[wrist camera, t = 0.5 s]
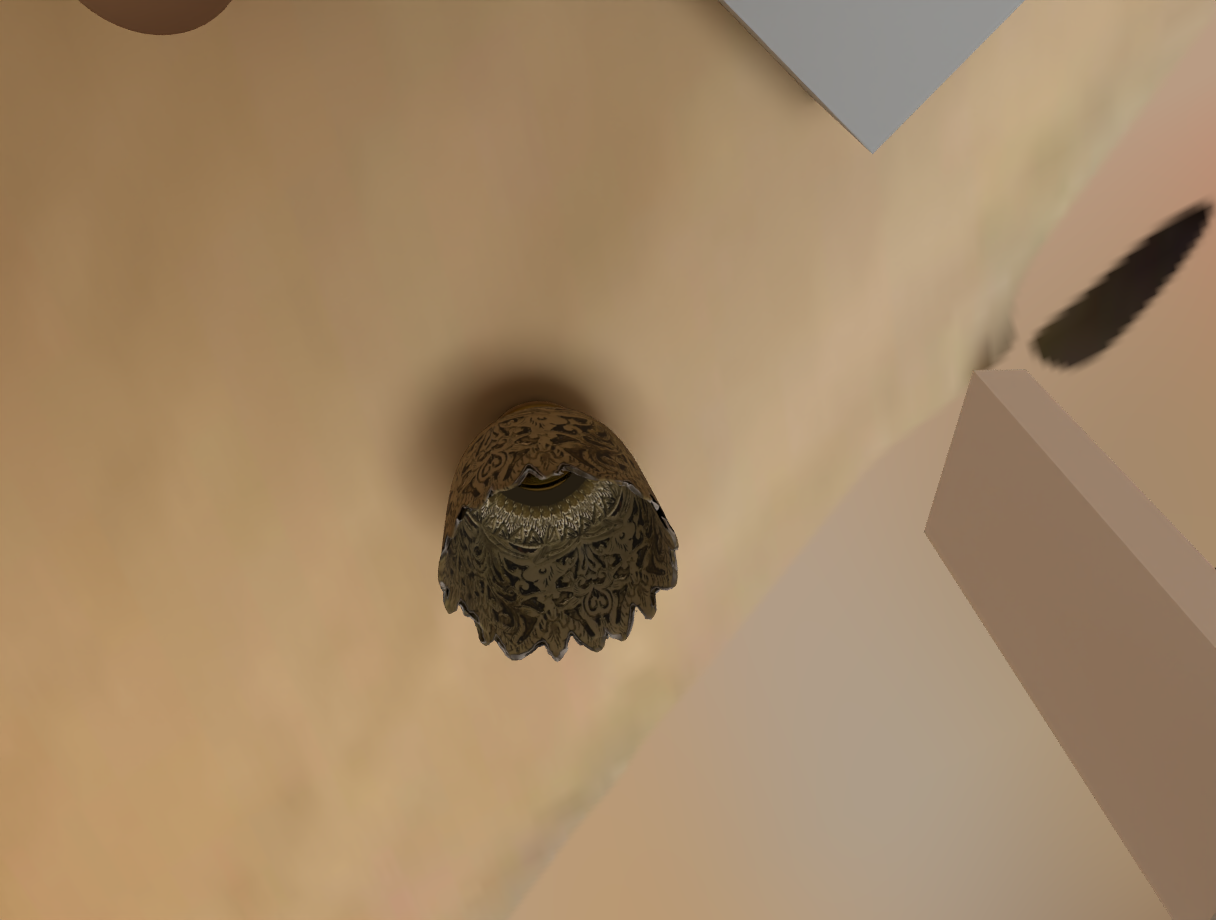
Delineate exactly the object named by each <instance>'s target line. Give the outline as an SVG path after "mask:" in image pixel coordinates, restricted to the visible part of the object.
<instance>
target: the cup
mask: <svg viewBox="0 0 1216 920" xmlns="http://www.w3.org/2000/svg"><path fill="white" fill-rule="evenodd" d="M678 547H679V545H678V540H677V537H676V534H675V532H674V530H673V529H672V527H671V526H670V524H669V522H668V520H667V519H666V516H665V514H664V512H663V510H662V508H661V506H660V504H659V503H658V501H657V499H656V497H655V495H654V493H653V491H652V489H651V488H650V486H649V484H648V482H647V480H646V478H645V477H644V475H643V473H642V471H641V469H640V468H639V466H638V464H637V462H636V461H635V459H634V458H633V456H632V455H631V453H630V452H629V450H628V449H627V448H626V446H625V445H624V444H623V442H622V441H621V440H620V439H619V438H618V437H617V436H616V435H615V434H614V433H613V432H612V431H611V430H610V429H609V428H608V427H606V426H605V425H604V424H602V423H601V422H599V421H597V420H596V419H594V418H592V417H590V416H588V415H586V414H584V413H581V412H579V411H576V410H572V409H568V408H564V407H562V406H560V405H558V404H555V403H551V402H546V401H531V402H526V403H522V404H519V405H517V406H515V407H513V408H511V409H510V410H508V411H507V412H505V413H504V414H503V415H502V416H501V417H500V418H499V419H498V420H497V421H495V422H494V423H492V424H491V425H489V426H488V427H487V428H485V429H484V430H483V431H482V432H481V433H480V434H479V435H478V436H477V437H476V438H475V440H474V441H473V442H472V443H471V444H470V446H469V447H468V448H467V450H466V451H465V453H464V454H463V456H462V459H461V461H460V463H459V465H458V467H457V470H456V473H455V475H454V478H453V482H452V486H451V490H450V495H449V501H448V506H447V513H446V520H445V527H444V535H443V544H442V553H441V557H440V561H439V568H438V580H439V584H440V586H441V589H442V591H443V592H444V593H443V602H444V605H445V608H446V610H447V612H448V613H449V614H451V613H453V612H455V611H457V609H458V605H459V606H460V607H461V609H462V611H463V614H464V615H465V616H467V617H471V619H473V620H474V622H475V626H476V627H477V631H478V634H479V639H480V641H481V643H482V644H483V645H485V646H487V645H489V644H490V643H491V642H493V641H494V640H495V641H496V642H497V644H498V645H499V647H500V648H501V649H502V651H503V652H504V653H505V655H506V656H507V657H508V658H510V659H511V660H522V659H523V658H525V657H526V656H528V655H529V654H531V653H533V651H535V650H536V649H537V648H538V647H541V646H545V647H546V649H547V652H548V654H549V655H551V656H552V658H553V659H554V660H555V661H557V662H558V661H560V660H561V659H562V658H563V656H564V654H565V653H566V652H567V649H568V648H567V646H568V642H569V640H570V637H571V636H573V638H574V639H575V640H576V642H577V643H578V644H579V645H584V646H585V647H587V648H588V649H590V650H591V651H594V652H599V651H601V650H602V649H603V647H604V645H605V640H606V639H608V638H609V637H611V638H614V639H617V640H620V641H624V640H626V639H627V637H628V636H629V634H630V632H631V629H632V625H633V622H634V612H635V607H638V608H639V610H640V611H641V613H642V614H643V615H644V616H645V619H650V620H651V619H652V618H653V617H654V615H655V613H656V610H657V609H656V596H655V595H656V593H657V592H658V591H660V590H659V589H661V590H669V589H672V588H673V587H675V586H676V584H677V576H678V575H677V560H676V555H675V550H678ZM636 612H637V611H636ZM608 634H609V635H610V636H608Z"/></svg>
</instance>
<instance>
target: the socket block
mask: <svg viewBox="0 0 1216 920" xmlns="http://www.w3.org/2000/svg"><path fill="white" fill-rule="evenodd" d="M718 1H719V2H720V3H721V4H722V5H723V6H724V7H725V8H726V9H727V10H728V11H729V12H730V13H731V14H732V15H733V16H734V17H735V18H736V19H737V20H738V21H739V22H740V23H741V24H742V25H743V26H744V28H745V29H746V30H747V31H748V32H749V33H750V34H751V35H752V36H753V37H754V38H755V39H756V40H757V41H758V42H759V43H760V44H761V45H762V46H763V47H764V48H765V49H766V50H767V51H768V52H769V53H770V54H771V55H772V56H773V57H774V58H775V59H776V60H777V61H778V62H779V63H780V65H781V66H782V67H783V68H784V69H785V70H786V71H787V72H788V73H789V74H790V75H791V76H792V77H793V78H794V79H795V80H796V81H797V82H798V83H799V84H800V85H801V86H802V87H803V88H804V89H805V90H806V91H807V92H808V93H809V94H810V95H811V96H812V97H813V98H814V99H815V100H816V101H817V102H818V103H819V104H820V105H821V106H822V107H823V108H824V109H825V110H826V111H827V112H828V113H829V114H830V115H831V116H833V117H834V118H835V119H836V120H837V121H838V122H839V123H840V124H841V125H842V126H843V127H844V128H845V129H846V130H847V131H849V132H850V133H851V134H852V135H853V136H854V137H855V138H856V139H857V140H858V141H859V142H860V143H861V144H862V145H864V146H865V147H866V148H867V149H868V150H869V151H870V152H871V153H872V154H873V153H874V152H875V151H876V150H877V149H878V148H879V147H880V146H881V145H882V144H883V143H884V142H885V141H886V140H887V139H888V138H889V137H890V136H891V135H892V134H893V133H894V132H895V131H896V130H897V129H898V128H899V127H900V126H901V125H902V124H903V123H904V122H905V121H906V120H907V119H908V118H909V117H910V116H911V115H912V114H913V113H914V112H915V111H916V110H917V109H918V108H919V107H920V106H921V105H922V104H923V103H924V102H925V101H926V100H927V99H928V98H929V97H930V96H931V95H932V94H933V93H934V92H935V91H936V90H937V88H938V87H939V86H940V85H941V84H942V83H943V82H944V81H945V80H946V79H947V78H948V77H949V76H950V75H951V74H952V73H953V72H954V71H955V70H956V69H957V68H958V67H959V66H960V65H961V64H962V63H963V62H964V61H965V60H966V59H967V58H968V57H969V56H970V55H971V54H972V53H973V52H974V51H975V50H976V49H977V48H978V47H979V46H980V45H981V44H982V43H983V42H984V41H985V40H986V39H987V38H988V37H989V36H990V35H991V34H992V33H993V32H994V31H995V30H996V29H997V28H998V27H999V26H1000V25H1001V24H1002V23H1003V22H1004V21H1005V20H1006V19H1007V18H1008V17H1009V16H1010V15H1011V14H1012V13H1013V12H1014V11H1015V10H1016V9H1017V8H1018V7H1019V6H1020V5H1021V4H1022V3H1023V2H1024V1H1025V0H718Z"/></svg>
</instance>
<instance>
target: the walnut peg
mask: <svg viewBox="0 0 1216 920" xmlns="http://www.w3.org/2000/svg"><path fill="white" fill-rule="evenodd" d="M79 1H80V2H81V3H82V4H84V5H85V6H86V7H87V8H88V9H90V10H91V11H92V12H94V13H96V14H97V15H99V16H100V17H102V18H103V19H105V20H107V21H109V22H111V23H113V24H115V25H117V26H120V27H123V28H126V29H128V30H132V31H136V32H140V33H145V34H153V35H171V34H178V33H184V32H187V31H190V30H194V29H196V28H198V27H200V26H202V25H205V24H206V23H208V22H209V21H211V20H212V19H214V18H215V17H216V16H218V15H219V14H220V13H221V12H222V11H223V10H224V9H225V8H226V7H227V5H228V4H229V3H230V2H231V0H79Z"/></svg>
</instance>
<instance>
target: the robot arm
mask: <svg viewBox="0 0 1216 920" xmlns="http://www.w3.org/2000/svg"><path fill="white" fill-rule="evenodd" d="M924 532H925V534H926V536H927V537H928V539H929V540H930V542H931V543H932V545H933V547H934V548H935V549H936V551H937V552H938V554H939V556H940V558H941V559H942V561H943V562H944V564H945V565H946V567H947V568H948V570H949V572H950V573H951V575H952V576H953V578H954V579H955V581H956V583H957V584H958V586H959V587H960V589H961V590H962V592H963V593H964V595H965V596H966V598H967V599H968V601H969V603H970V604H971V606H972V608H973V609H974V611H975V612H976V614H977V615H978V617H979V618H980V620H981V622H982V623H983V625H984V626H985V628H986V629H987V631H988V632H989V634H990V636H991V637H992V639H993V640H994V642H995V643H996V645H997V646H998V648H999V649H1000V651H1001V653H1002V654H1003V656H1004V657H1005V659H1006V660H1007V662H1008V663H1009V665H1010V667H1011V668H1012V669H1013V671H1014V673H1015V675H1016V676H1017V678H1018V679H1019V681H1020V682H1021V684H1022V686H1023V687H1024V689H1025V690H1026V692H1027V693H1028V695H1029V696H1030V698H1031V700H1032V701H1033V703H1034V704H1035V706H1036V707H1037V709H1038V711H1039V712H1040V714H1041V715H1042V717H1043V718H1044V720H1045V721H1046V723H1047V724H1048V726H1049V728H1050V729H1051V731H1052V732H1053V734H1054V735H1055V737H1056V739H1057V740H1058V742H1059V743H1060V745H1061V746H1062V748H1063V749H1064V751H1065V752H1066V754H1067V756H1068V757H1069V759H1070V760H1071V762H1072V764H1073V765H1074V767H1075V768H1076V769H1077V771H1078V773H1079V774H1080V776H1081V777H1082V779H1083V781H1084V782H1085V784H1086V785H1087V787H1088V788H1089V790H1090V791H1091V793H1092V795H1093V796H1094V798H1095V799H1096V801H1097V803H1098V804H1099V806H1100V807H1101V809H1102V810H1103V812H1104V813H1105V815H1106V816H1107V818H1108V820H1109V821H1110V823H1111V824H1112V826H1113V827H1114V829H1115V830H1116V832H1117V834H1118V835H1119V837H1120V838H1121V840H1122V842H1123V843H1124V845H1125V846H1126V848H1127V849H1128V851H1129V852H1130V854H1131V856H1132V857H1133V859H1134V860H1135V862H1136V863H1137V865H1138V867H1139V868H1140V870H1141V871H1142V873H1143V874H1144V876H1145V877H1146V879H1147V881H1148V882H1149V884H1150V885H1151V887H1152V888H1153V890H1154V892H1155V893H1156V895H1157V896H1158V898H1159V899H1160V901H1161V902H1162V904H1163V906H1164V907H1165V908H1166V910H1167V912H1168V913H1169V915H1170V916H1171V918H1172V920H1216V568H1214V567H1213V566H1212V565H1211V564H1210V563H1209V562H1208V561H1207V560H1206V559H1205V558H1204V556H1203V555H1202V554H1201V553H1200V552H1199V551H1198V550H1197V549H1196V548H1195V547H1194V546H1193V545H1192V544H1191V543H1190V542H1189V541H1188V540H1187V539H1186V538H1185V537H1184V535H1183V534H1181V532H1180V531H1179V530H1178V529H1177V528H1176V527H1175V526H1174V525H1173V524H1172V523H1171V522H1170V521H1169V520H1168V519H1167V518H1166V517H1165V516H1164V515H1163V514H1162V512H1161V511H1160V510H1159V509H1158V508H1157V507H1156V506H1155V505H1154V504H1153V503H1152V502H1151V501H1150V500H1149V499H1148V498H1147V497H1146V496H1145V494H1144V493H1143V492H1142V491H1141V490H1140V489H1139V488H1138V487H1137V486H1136V485H1135V484H1134V483H1133V482H1132V481H1131V480H1130V479H1129V478H1128V477H1127V476H1126V475H1125V473H1124V472H1123V471H1122V470H1121V469H1120V468H1119V467H1118V466H1117V465H1116V464H1115V463H1114V462H1113V461H1112V460H1111V459H1110V458H1109V457H1108V456H1107V455H1106V453H1105V452H1104V451H1103V450H1102V449H1101V448H1100V447H1099V446H1098V445H1097V444H1096V443H1095V442H1094V441H1093V440H1092V439H1091V438H1090V437H1089V436H1088V435H1087V433H1086V432H1085V431H1084V430H1083V429H1082V428H1081V427H1080V426H1079V425H1078V424H1077V423H1076V422H1075V421H1074V420H1073V419H1072V418H1071V417H1070V416H1069V415H1068V414H1067V413H1066V411H1065V410H1064V409H1062V407H1061V406H1060V405H1059V404H1058V403H1057V402H1056V401H1055V400H1054V399H1053V398H1052V397H1051V396H1050V395H1049V394H1048V393H1047V392H1046V390H1044V388H1043V387H1042V386H1041V385H1040V384H1039V383H1038V382H1037V381H1036V380H1035V379H1034V378H1033V377H1032V376H1031V375H1030V374H1029V373H1028V371H1027V370H973V373H972V376H971V380H970V383H969V386H968V389H967V393H966V396H965V399H964V402H963V406H962V409H961V412H960V416H959V419H958V422H957V425H956V429H955V432H954V435H953V438H952V442H951V445H950V448H949V452H948V455H947V458H946V461H945V465H944V468H943V471H942V474H941V478H940V481H939V484H938V487H937V491H936V494H935V497H934V500H933V504H932V507H931V511H930V514H929V517H928V520H927V523H926V527H925V530H924Z"/></svg>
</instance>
